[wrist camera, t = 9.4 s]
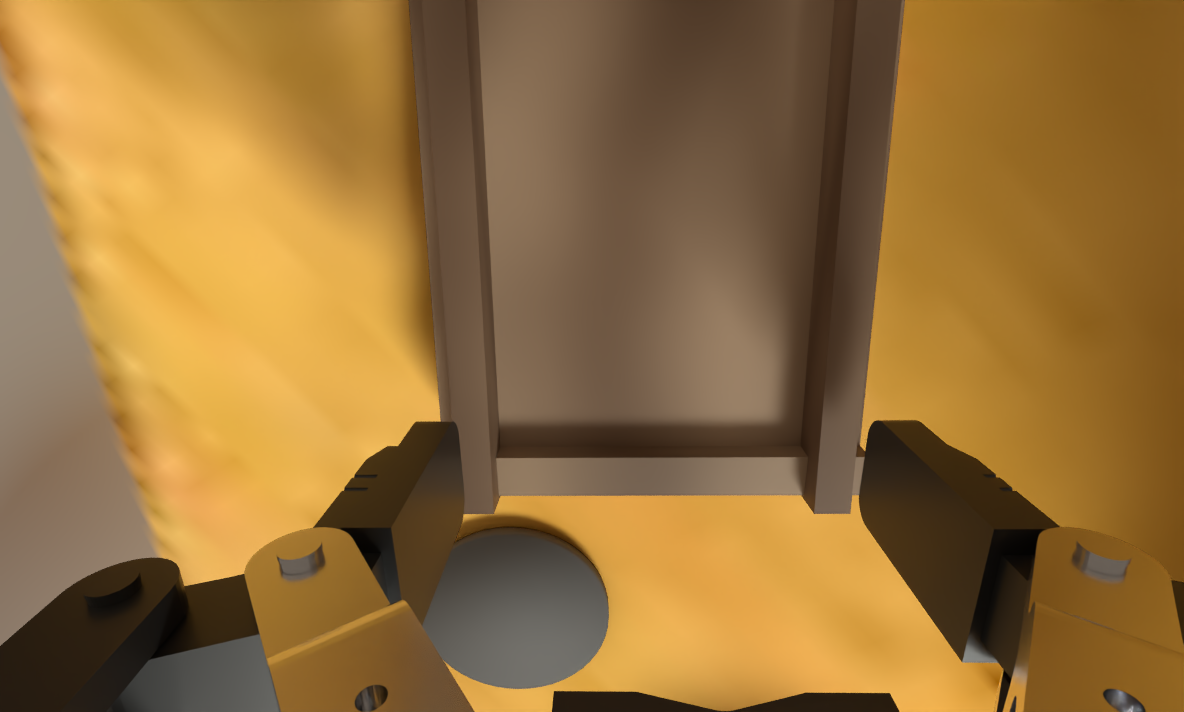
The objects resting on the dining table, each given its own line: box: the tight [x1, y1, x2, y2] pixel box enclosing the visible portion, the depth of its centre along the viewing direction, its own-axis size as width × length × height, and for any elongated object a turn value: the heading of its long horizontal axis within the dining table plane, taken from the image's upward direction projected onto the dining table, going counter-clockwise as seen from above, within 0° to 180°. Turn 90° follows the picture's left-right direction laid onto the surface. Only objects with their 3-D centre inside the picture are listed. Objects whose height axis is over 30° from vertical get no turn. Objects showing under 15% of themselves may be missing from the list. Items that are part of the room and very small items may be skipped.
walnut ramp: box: [409, 0, 905, 514], centre depth 13 cm, size 10×12×4 cm
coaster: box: [422, 527, 609, 689], centre depth 19 cm, size 6×6×1 cm
